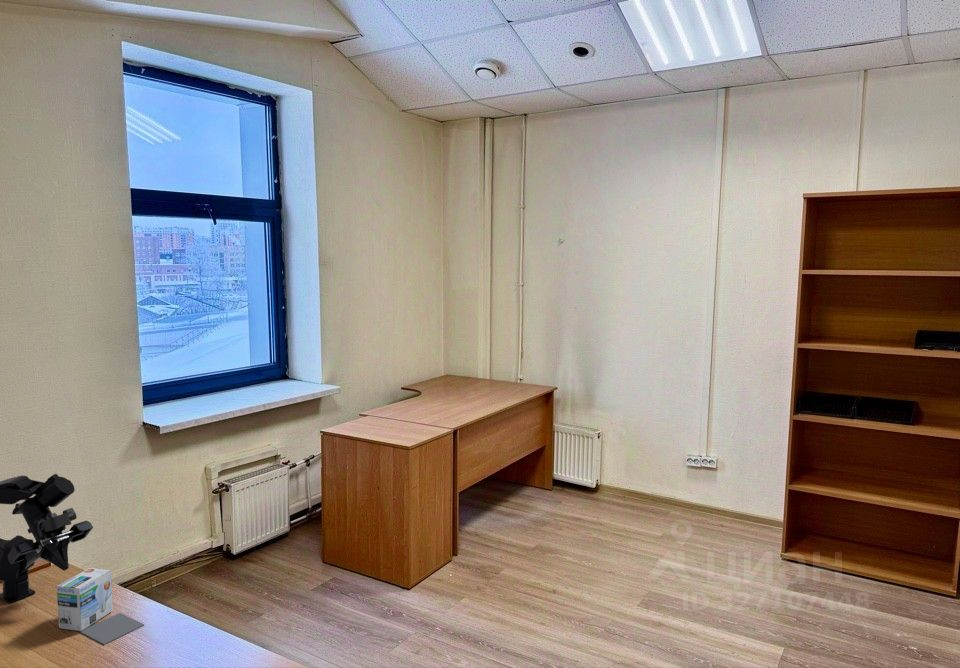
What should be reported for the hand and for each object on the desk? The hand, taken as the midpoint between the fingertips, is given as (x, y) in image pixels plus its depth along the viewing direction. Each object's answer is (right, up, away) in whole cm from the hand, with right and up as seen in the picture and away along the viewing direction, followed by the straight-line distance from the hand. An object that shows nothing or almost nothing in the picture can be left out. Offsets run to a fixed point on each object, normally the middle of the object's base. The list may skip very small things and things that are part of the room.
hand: (66, 569), depth 169 cm
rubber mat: (+16, -12, -8) cm, 21 cm away
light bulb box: (+8, -11, -4) cm, 14 cm away
